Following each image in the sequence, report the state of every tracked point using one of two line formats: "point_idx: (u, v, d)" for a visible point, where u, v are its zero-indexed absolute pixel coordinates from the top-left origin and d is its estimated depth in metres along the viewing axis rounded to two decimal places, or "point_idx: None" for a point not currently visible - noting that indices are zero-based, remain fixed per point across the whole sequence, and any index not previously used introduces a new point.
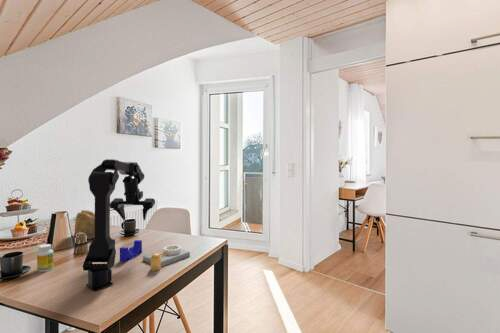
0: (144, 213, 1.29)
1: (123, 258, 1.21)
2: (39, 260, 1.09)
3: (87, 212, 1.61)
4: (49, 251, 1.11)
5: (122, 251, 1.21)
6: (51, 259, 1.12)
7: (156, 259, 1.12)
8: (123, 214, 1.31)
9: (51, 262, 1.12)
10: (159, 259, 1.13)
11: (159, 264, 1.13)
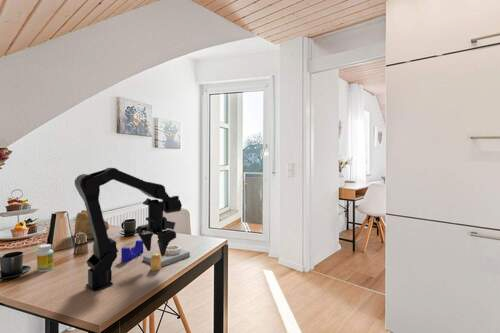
0: (159, 246, 1.09)
1: (125, 258, 1.21)
2: (39, 260, 1.09)
3: None
4: (49, 251, 1.11)
5: (124, 251, 1.21)
6: (51, 259, 1.12)
7: (156, 259, 1.12)
8: (147, 243, 1.16)
9: (51, 262, 1.12)
10: (159, 259, 1.13)
11: (159, 264, 1.13)
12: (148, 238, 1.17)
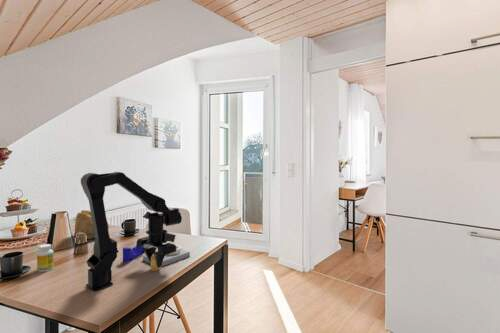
0: (156, 258, 1.10)
1: (126, 259, 1.21)
2: (39, 260, 1.09)
3: (87, 212, 1.61)
4: (49, 251, 1.11)
5: (125, 251, 1.21)
6: (51, 259, 1.12)
7: None
8: None
9: (51, 262, 1.12)
10: None
11: None
12: (152, 252, 1.15)
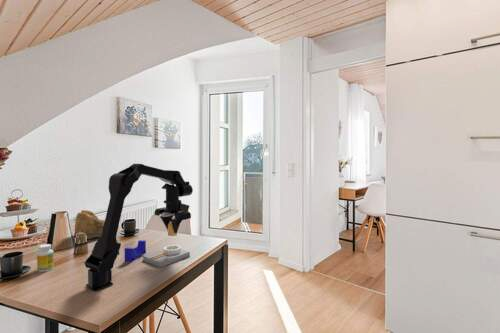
0: (173, 224, 1.24)
1: (128, 259, 1.21)
2: (39, 260, 1.09)
3: (87, 212, 1.61)
4: (49, 251, 1.11)
5: (127, 251, 1.21)
6: (51, 259, 1.12)
7: None
8: None
9: (51, 262, 1.12)
10: None
11: None
12: (169, 220, 1.29)
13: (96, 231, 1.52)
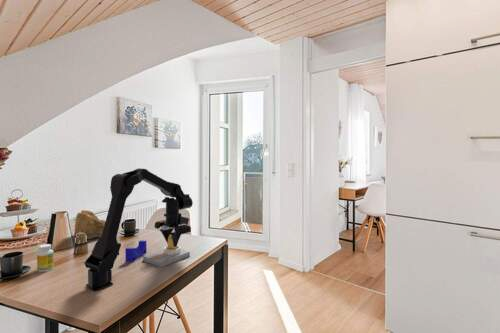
0: (173, 238, 1.24)
1: (129, 259, 1.21)
2: (39, 260, 1.09)
3: (87, 212, 1.61)
4: (49, 251, 1.11)
5: (128, 252, 1.21)
6: (51, 259, 1.12)
7: None
8: None
9: (51, 262, 1.12)
10: None
11: None
12: (168, 233, 1.29)
13: (96, 231, 1.52)
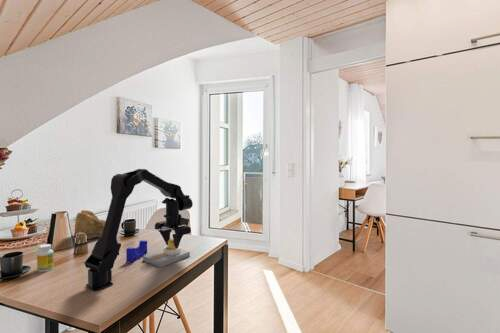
0: (174, 239, 1.24)
1: (130, 259, 1.21)
2: (39, 260, 1.09)
3: (87, 212, 1.61)
4: (49, 251, 1.11)
5: (129, 252, 1.21)
6: (51, 259, 1.12)
7: (173, 243, 1.26)
8: (167, 238, 1.29)
9: (51, 262, 1.12)
10: None
11: (175, 248, 1.27)
12: (167, 234, 1.30)
13: (96, 231, 1.52)
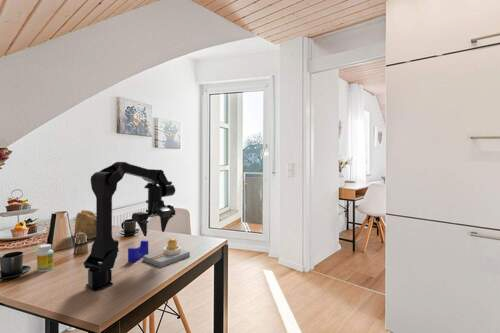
0: None
1: (131, 259, 1.21)
2: (39, 260, 1.09)
3: (87, 212, 1.61)
4: (49, 251, 1.11)
5: (130, 252, 1.21)
6: (51, 259, 1.12)
7: (173, 243, 1.26)
8: (162, 224, 1.27)
9: (51, 262, 1.12)
10: (175, 243, 1.27)
11: (175, 248, 1.27)
12: (163, 220, 1.27)
13: None
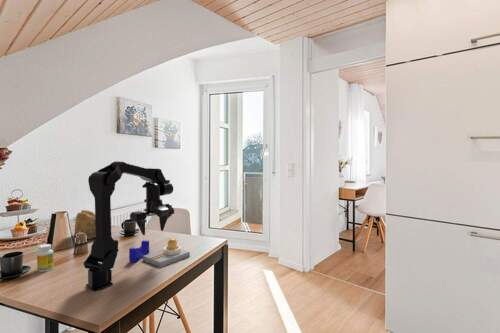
0: None
1: (133, 259, 1.21)
2: (39, 260, 1.09)
3: (87, 212, 1.61)
4: (49, 251, 1.11)
5: (132, 252, 1.21)
6: (51, 259, 1.12)
7: (173, 243, 1.26)
8: (161, 223, 1.27)
9: (51, 262, 1.12)
10: (175, 243, 1.27)
11: (175, 248, 1.27)
12: (162, 219, 1.27)
13: None
